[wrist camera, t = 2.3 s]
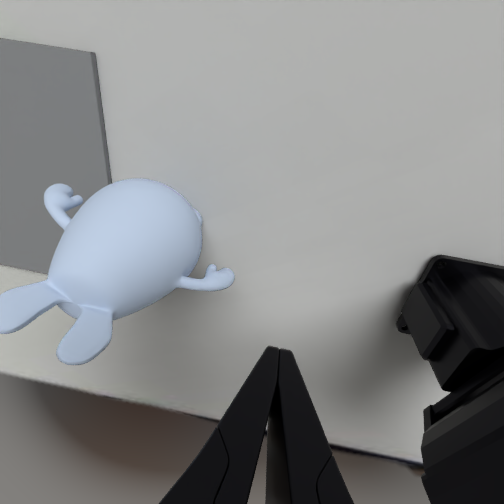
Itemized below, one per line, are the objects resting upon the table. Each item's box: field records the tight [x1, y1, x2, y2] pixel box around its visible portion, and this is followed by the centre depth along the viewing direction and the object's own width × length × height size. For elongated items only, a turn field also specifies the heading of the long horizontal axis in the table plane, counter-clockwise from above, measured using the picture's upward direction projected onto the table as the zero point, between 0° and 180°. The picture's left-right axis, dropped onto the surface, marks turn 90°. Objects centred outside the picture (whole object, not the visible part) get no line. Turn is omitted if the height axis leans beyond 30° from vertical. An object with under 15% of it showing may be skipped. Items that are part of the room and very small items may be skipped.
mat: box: [0, 38, 112, 274], centre depth 19 cm, size 12×16×1 cm
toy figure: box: [0, 178, 235, 365], centre depth 14 cm, size 11×6×12 cm, turn 63°
